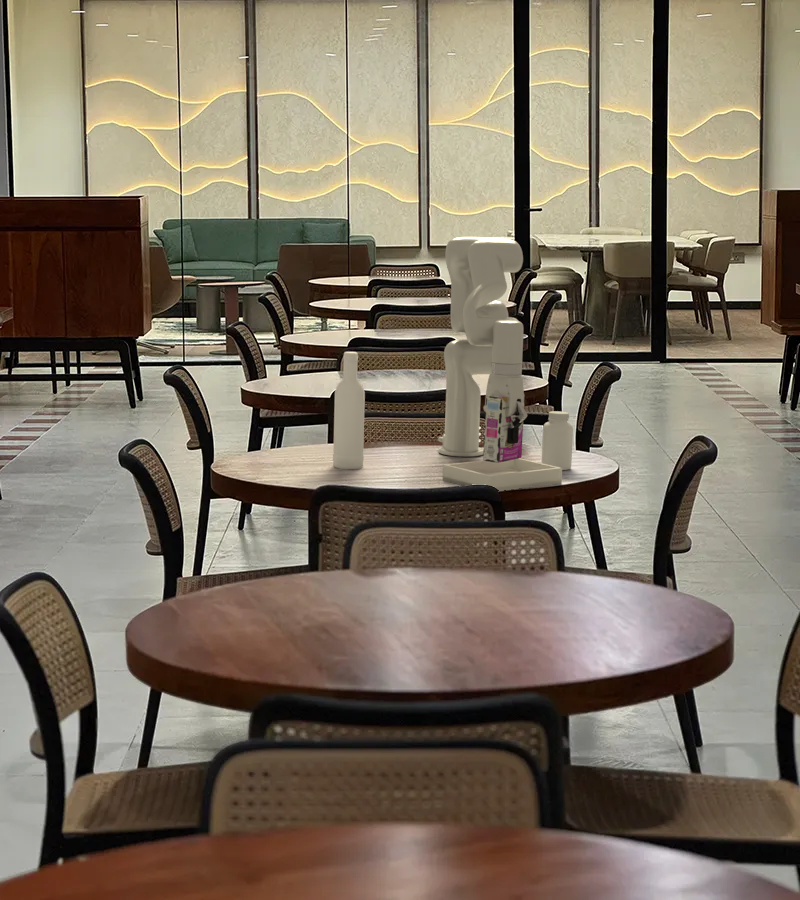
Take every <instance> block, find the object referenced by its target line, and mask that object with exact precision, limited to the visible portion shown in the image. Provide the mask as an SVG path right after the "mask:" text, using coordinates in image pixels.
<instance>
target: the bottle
mask: <svg viewBox="0 0 800 900" xmlns="http://www.w3.org/2000/svg"><path fill="white" fill-rule="evenodd" d="M342 357H343V358H342V360H343V367H342V368H343V372H342V373H343V374H342V379H341V381H339V382H338V383H337V385H336V387H335V391H334V410H333V411H334V412H333V416H334V417H333V453H332V462H333V464H332V466H333V468H336V469H341V470H356V469H357V470H358V469H359V470H360V469H362V468H363V467H364V458H365V457H364V443H365V442H364V439H365V438H364V437H365V433H364V432H365V402H366V401H365V399H366V392H365V388H364V386H363V384H362V383H361V382H360V380H359V379H358V364H359V362H358V361H359V353H358V352H356V351H344V353H343V356H342Z"/></svg>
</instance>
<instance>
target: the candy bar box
mask: <svg viewBox="0 0 800 900" xmlns="http://www.w3.org/2000/svg"><path fill="white" fill-rule="evenodd" d="M525 398H526V397H525V394H524V400H525ZM485 399H486V412H485V411H484V413H485V417H484V433H483V434H484V435H483V437H484V438H483V450H484V453H483V456H482V457H483V458H482V460H484V461H489V462H495V463H499V462H504V461H509V460H514V459H518V458H521V459H522V456H523V455H522V451H523V438H524V437H523V433H524V422H523V423H522V424H521V427H520V428H519V437H518V443H514V444H508V443H507V435H508V428H510V426H509V421H508V419H509V418H508V417H506V416H505V412H506V398H505V397H502V396H496V395H492V396H486V395H485ZM513 415H514V414H513ZM514 420H515V418H513V422H514Z"/></svg>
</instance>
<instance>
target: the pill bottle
mask: <svg viewBox="0 0 800 900" xmlns="http://www.w3.org/2000/svg"><path fill="white" fill-rule="evenodd" d="M569 419H570V412H567V411H561V410H560V411H558V410H557V411H556V410H555V411H549V412H548V419H547V420H548V421H547V422H545V423H544V424H543V427H542V444H541V445H542V446H541V463H543V464H547V465H551V466H556V467H560V468H562V471H568V470H570V469H571V468H572V463H573V462H572V459H573V436H574V435H573V434H574V427H573V425H572V423H570V422H569Z"/></svg>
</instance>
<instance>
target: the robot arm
mask: <svg viewBox="0 0 800 900" xmlns="http://www.w3.org/2000/svg"><path fill="white" fill-rule="evenodd" d="M444 254H445V255H444V256H445V257H444V258H445V263H446V268H447V271H448V275H449V279H450V283H451V284H450V285H451V288H450V289H451V290H450V291H451V292H450V326H451V329H452V331H453V332H455V333H456V334H459V335H465V337H466V339H455V340H451V341H450V342H449V343H447V344H446V346H445V348H444V351H443V352H444V353H443V358H444V359H443V360H444V367H445V368H444V369H445V378H446V379H445V380H446V381H445V384H446V385H445V386H446V387H445V388H446V389H445V416H444V417H445V419H444V420H445V421H444V434H442V436H439V437H438V438H437V441H438V442H440V443H442V446H440V447H438V453H440V454H442V455H446V456H452V457H478V456H482V455H483V453H484V448H481V447H479V445H480V444H479V443H480V442H479V441H480V423H481V422H480V417H481V415H480V414H481V393H482V392H481V389H480V387H479V384H478V383H477V382H476V381H475V379H474V378H473V376H475V375H488V379H487V384H486V391H485V397H486V396H492V395H496V396H502V397H505V398H506V412H505V416H506V417H508V418H509V419H508V421H509V426H510V428H508V435H507V443H508V444H514V443H518V437H519V428H520V427H521V424H522V423H523V424H524V421H525V420H526V419H527V417H528V413H527V411H526V409H525V399H524V395H525V392H524V390H525V388H524V380H523V377H522V372H523V350H524V349H523V348H524V324H523V323H522V322H521V321H519V320H518V319H517V318H516V317H511V316H509V312H508V307H507V306H506V304H505V303H504V302H503V301H500V300H499V299H500V298H502V297H503V296H504V295H505V293H506V292H507V289H508V285H507V279H506V276H505V273H518V272H519V271H520V270H521V269H522V267H523V263H524V255H523V250H522V247H521V246H520V244H519V243H518V242H517V241H516V240H513V239H510V238H505V237H487V236H486V237H483V236H482V237H481V236H461V237H460V236H458V237H454V238H452V239H450V240H449V241H448V242H447V244H446V247H445V253H444ZM482 409H483V411H484V413H485V412H486V398H485V399H484V405H483V407H482ZM513 414H514V415H513ZM513 418H515V420H514V422H513Z"/></svg>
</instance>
